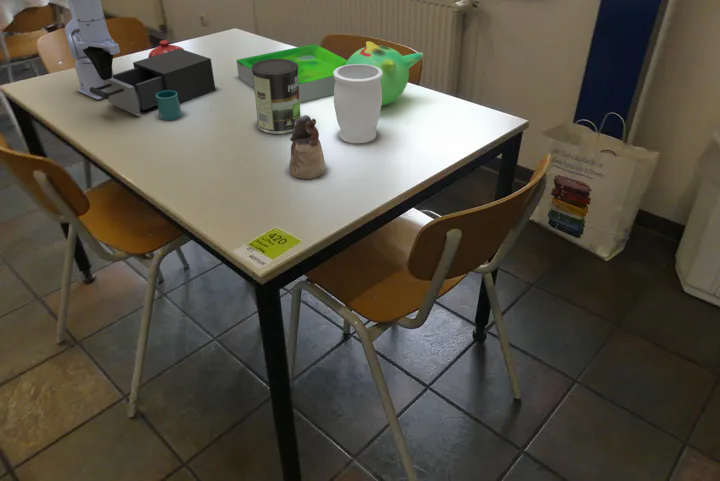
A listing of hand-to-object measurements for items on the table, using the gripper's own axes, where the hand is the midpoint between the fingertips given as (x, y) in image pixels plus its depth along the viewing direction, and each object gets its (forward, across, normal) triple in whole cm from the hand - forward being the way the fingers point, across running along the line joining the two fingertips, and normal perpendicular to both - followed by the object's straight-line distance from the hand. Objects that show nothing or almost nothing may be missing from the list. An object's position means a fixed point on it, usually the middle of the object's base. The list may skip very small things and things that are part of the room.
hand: (106, 78), depth 132 cm
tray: (+9, +20, +44) cm, 49 cm away
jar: (+9, +53, +28) cm, 60 cm away
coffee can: (+9, +35, +21) cm, 42 cm away
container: (+9, +11, +8) cm, 16 cm away
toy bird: (+9, +44, +46) cm, 65 cm away
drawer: (+8, 0, +6) cm, 10 cm away
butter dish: (+9, -15, +27) cm, 32 cm away
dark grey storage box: (+9, 0, +18) cm, 21 cm away
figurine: (+9, +55, +9) cm, 56 cm away
